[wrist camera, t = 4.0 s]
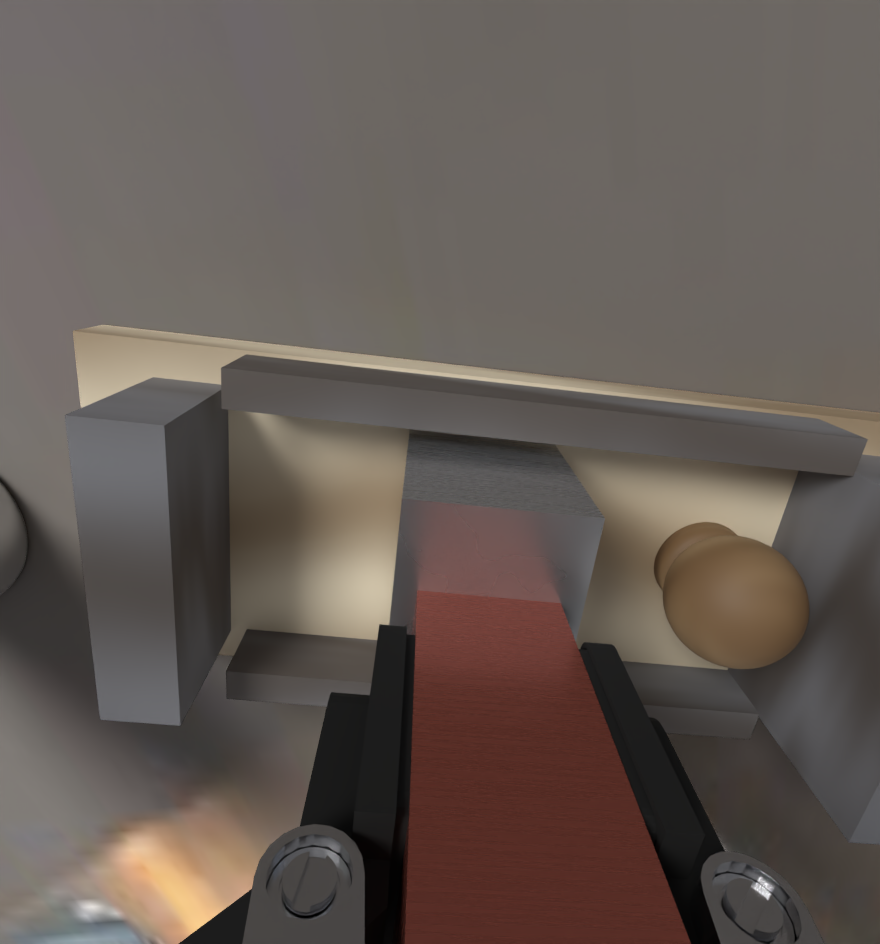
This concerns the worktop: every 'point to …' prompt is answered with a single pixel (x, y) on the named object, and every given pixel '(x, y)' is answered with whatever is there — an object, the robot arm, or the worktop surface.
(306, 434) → the cracker board
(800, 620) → the walnut
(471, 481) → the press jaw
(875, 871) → the worktop surface
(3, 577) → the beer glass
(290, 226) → the worktop surface
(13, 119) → the worktop surface
